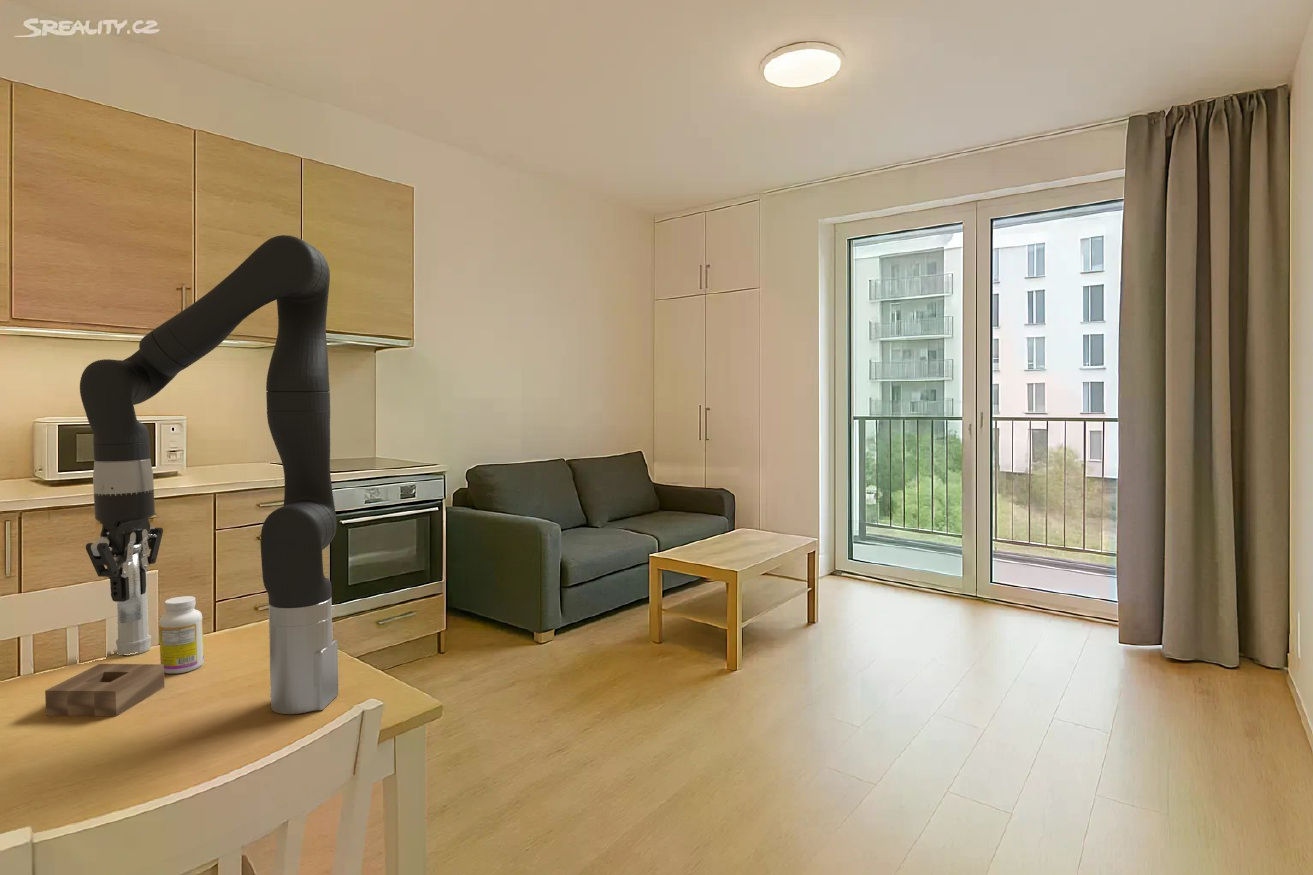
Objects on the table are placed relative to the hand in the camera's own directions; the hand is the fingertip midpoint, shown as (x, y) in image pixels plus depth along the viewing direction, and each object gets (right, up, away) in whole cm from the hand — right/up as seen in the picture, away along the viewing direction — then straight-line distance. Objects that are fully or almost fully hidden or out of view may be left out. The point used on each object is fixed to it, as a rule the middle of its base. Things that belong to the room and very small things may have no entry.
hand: (129, 596), depth 112 cm
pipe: (-19, -17, +27) cm, 37 cm away
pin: (0, -4, 0) cm, 4 cm away
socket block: (-7, -18, +5) cm, 20 cm away
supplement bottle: (-4, -18, +19) cm, 26 cm away
